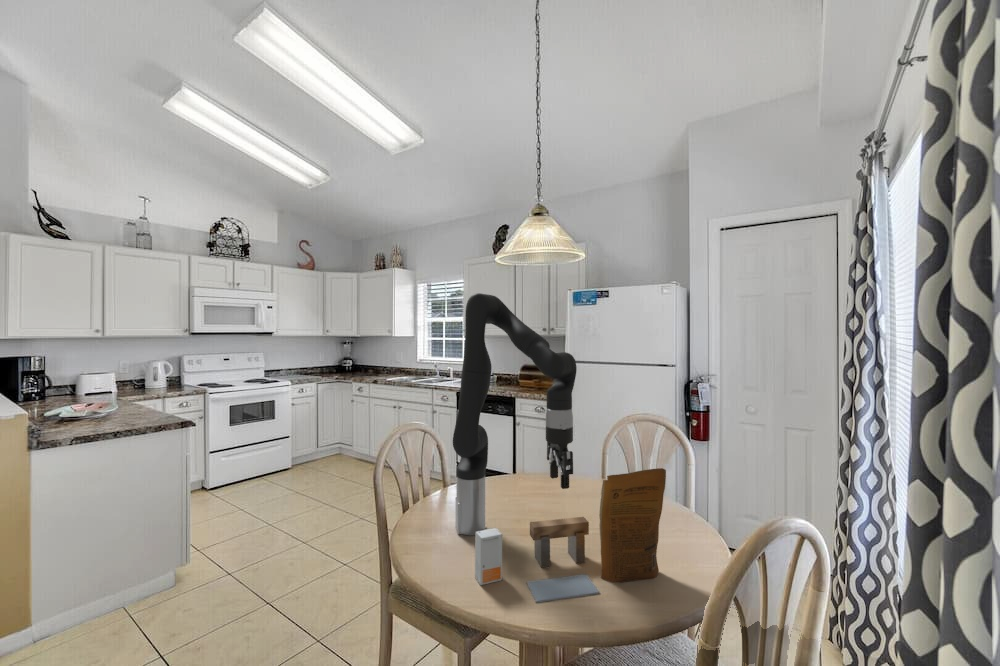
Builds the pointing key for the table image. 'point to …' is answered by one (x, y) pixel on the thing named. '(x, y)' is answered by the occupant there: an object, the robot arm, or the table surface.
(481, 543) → the skincare box
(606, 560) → the pancake mix bag
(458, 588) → the table surface
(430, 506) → the table surface
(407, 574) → the table surface
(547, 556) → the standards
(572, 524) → the rail
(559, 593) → the mat
